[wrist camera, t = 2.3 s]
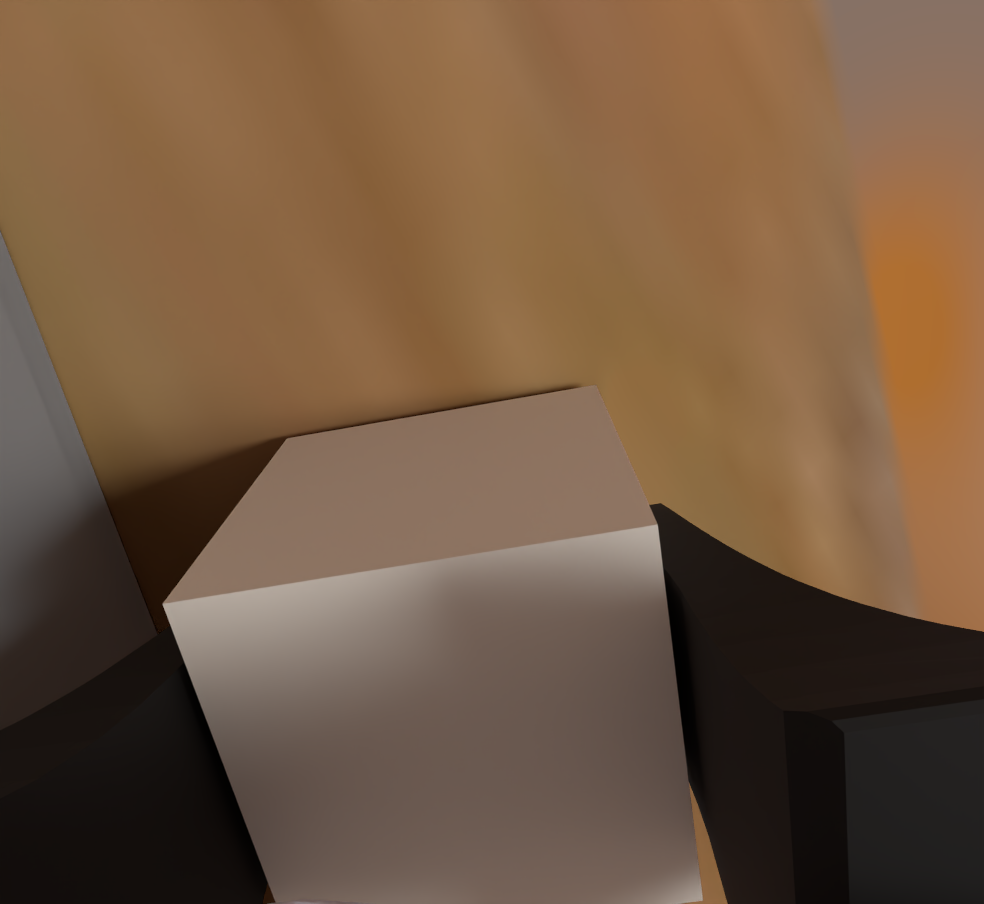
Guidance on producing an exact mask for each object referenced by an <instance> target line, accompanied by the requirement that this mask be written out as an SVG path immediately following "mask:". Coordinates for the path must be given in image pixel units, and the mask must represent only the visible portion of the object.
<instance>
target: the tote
mask: <svg viewBox="0 0 984 904" xmlns="http://www.w3.org/2000/svg"><path fill="white" fill-rule="evenodd" d="M157 635H158V634H157V632H156V629H155V627H154V624H153V621H152V619H151V616H150V614H149V611H148V609H147V606H146V604H145V601H144V598H143V596H142V593H141V591H140V588H139V586H138V583H137V580H136V578H135V575H134V573H133V570H132V568H131V565H130V562H129V560H128V557H127V555H126V552H125V550H124V547H123V545H122V542H121V539H120V537H119V534H118V532H117V529H116V527H115V524H114V521H113V519H112V516H111V514H110V511H109V509H108V506H107V503H106V501H105V498H104V496H103V493H102V491H101V488H100V486H99V483H98V480H97V478H96V475H95V473H94V470H93V468H92V465H91V462H90V460H89V457H88V455H87V452H86V450H85V447H84V444H83V442H82V439H81V437H80V434H79V432H78V429H77V426H76V424H75V421H74V419H73V416H72V414H71V411H70V409H69V406H68V403H67V401H66V398H65V396H64V393H63V391H62V388H61V385H60V383H59V380H58V378H57V375H56V373H55V370H54V367H53V365H52V362H51V360H50V357H49V355H48V352H47V350H46V347H45V344H44V342H43V339H42V337H41V334H40V332H39V329H38V326H37V324H36V321H35V319H34V316H33V314H32V311H31V308H30V306H29V303H28V301H27V298H26V296H25V293H24V291H23V288H22V285H21V283H20V280H19V278H18V275H17V273H16V270H15V267H14V265H13V262H12V260H11V257H10V255H9V252H8V249H7V247H6V244H5V242H4V239H3V237H2V234H1V232H0V730H2V729H4V728H6V727H8V726H10V725H12V724H14V723H16V722H18V721H20V720H22V719H24V718H25V717H27V716H29V715H31V714H33V713H35V712H36V711H38V710H40V709H42V708H43V707H45V706H47V705H49V704H51V703H52V702H54V701H56V700H58V699H59V698H61V697H63V696H65V695H66V694H68V693H70V692H71V691H73V690H75V689H76V688H78V687H80V686H81V685H83V684H85V683H86V682H88V681H90V680H91V679H93V678H94V677H96V676H97V675H99V674H101V673H102V672H104V671H105V670H107V669H108V668H110V667H111V666H113V665H114V664H115V663H117V662H118V661H120V660H121V659H123V658H124V657H126V656H127V655H129V654H130V653H132V652H133V651H135V650H136V649H138V648H139V647H141V646H142V645H143V644H145V643H146V642H148V641H149V640H151V639H152V638H154V637H155V636H157Z"/></svg>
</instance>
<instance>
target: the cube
mask: <svg viewBox="0 0 984 904" xmlns="http://www.w3.org/2000/svg"><path fill="white" fill-rule="evenodd" d="M163 607H164V610H165V612H166V615H167V617H168V620H169V623H170V625H171V628H172V631H173V633H174V636H175V639H176V641H177V644H178V646H179V649H180V652H181V654H182V657H183V660H184V662H185V665H186V668H187V670H188V673H189V675H190V678H191V681H192V683H193V686H194V689H195V691H196V694H197V697H198V699H199V702H200V704H201V707H202V710H203V712H204V715H205V718H206V720H207V723H208V726H209V728H210V731H211V733H212V736H213V739H214V741H215V744H216V747H217V749H218V752H219V755H220V757H221V760H222V762H223V765H224V768H225V770H226V773H227V776H228V778H229V781H230V784H231V786H232V789H233V791H234V794H235V797H236V799H237V802H238V805H239V807H240V810H241V813H242V815H243V818H244V820H245V823H246V826H247V828H248V831H249V834H250V836H251V839H252V842H253V844H254V847H255V849H256V852H257V855H258V857H259V860H260V863H261V865H262V868H263V871H264V873H265V876H266V878H267V881H268V884H269V886H270V889H271V892H272V894H273V897H274V900H275V902H276V903H277V902H284V901H292V900H299V899H311V900H326V901H342V902H357V903H373V904H679V903H687V902H695V901H703V898H702V889H701V881H700V873H699V864H698V856H697V848H696V839H695V831H694V823H693V814H692V806H691V798H690V789H689V781H688V773H687V764H686V756H685V748H684V739H683V731H682V723H681V714H680V706H679V698H678V689H677V681H676V673H675V664H674V656H673V648H672V639H671V631H670V623H669V614H668V606H667V598H666V589H665V581H664V573H663V564H662V556H661V548H660V539H659V531H658V524H657V522H656V520H655V517H654V515H653V513H652V510H651V508H650V506H649V504H648V501H647V499H646V497H645V495H644V492H643V490H642V488H641V486H640V483H639V481H638V479H637V477H636V474H635V472H634V470H633V467H632V465H631V463H630V461H629V458H628V456H627V454H626V452H625V449H624V447H623V445H622V443H621V440H620V438H619V436H618V434H617V431H616V429H615V427H614V424H613V422H612V420H611V418H610V415H609V413H608V411H607V409H606V406H605V404H604V402H603V400H602V397H601V395H600V393H599V391H598V388H597V386H596V385H592V386H586V387H580V388H575V389H569V390H563V391H557V392H552V393H546V394H540V395H534V396H529V397H523V398H517V399H511V400H505V401H500V402H494V403H488V404H482V405H477V406H471V407H465V408H459V409H454V410H448V411H442V412H436V413H431V414H425V415H419V416H413V417H407V418H402V419H396V420H390V421H384V422H379V423H373V424H367V425H361V426H356V427H350V428H344V429H338V430H333V431H327V432H321V433H315V434H309V435H304V436H298V437H292V438H287V439H286V440H285V442H284V443H283V444H282V446H281V447H280V448H279V450H278V451H277V452H276V454H275V455H274V456H273V458H272V459H271V460H270V462H269V463H268V464H267V466H266V467H265V468H264V470H263V471H262V472H261V474H260V475H259V476H258V478H257V479H256V480H255V482H254V483H253V484H252V486H251V487H250V488H249V490H248V491H247V492H246V494H245V495H244V496H243V498H242V499H241V500H240V502H239V503H238V504H237V505H236V507H235V508H234V509H233V511H232V512H231V513H230V515H229V516H228V517H227V519H226V520H225V521H224V523H223V524H222V525H221V527H220V528H219V529H218V531H217V532H216V533H215V535H214V536H213V537H212V539H211V540H210V541H209V543H208V544H207V545H206V547H205V548H204V549H203V551H202V552H201V553H200V555H199V556H198V557H197V559H196V560H195V561H194V563H193V564H192V565H191V567H190V568H189V569H188V571H187V572H186V573H185V575H184V576H183V577H182V579H181V580H180V581H179V583H178V584H177V585H176V587H175V588H174V589H173V591H172V592H171V593H170V595H169V596H168V597H167V599H166V600H165V601H164V603H163Z"/></svg>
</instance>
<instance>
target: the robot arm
mask: <svg viewBox="0 0 984 904" xmlns="http://www.w3.org/2000/svg"><path fill="white" fill-rule="evenodd" d="M649 506H650V508H651V510H652V513H653V515H654V517H655V520H656V522H657V524H658V531H659V539H660V548H661V556H662V564H663V573H664V581H665V589H666V598H667V606H668V614H669V623H670V631H671V639H672V648H673V656H674V664H675V673H676V681H677V689H678V698H679V706H680V714H681V723H682V731H683V739H684V748H685V756H686V764H687V773H688V781H689V783H690V786H691V788H692V791H693V793H694V796H695V798H696V801H697V803H698V806H699V809H700V812H701V815H702V818H703V821H704V824H705V826H706V829H707V832H708V835H709V839H710V842H711V846H712V849H713V853H714V856H715V860H716V863H717V867H718V871H719V874H720V878H721V881H722V885H723V888H724V892H725V896H726V899H727V903H728V904H984V632H982V631H976V630H970V629H965V628H960V627H954V626H949V625H943V624H938V623H934V622H929V621H925V620H921V619H916V618H912V617H907V616H903V615H900V614H896V613H893V612H889V611H885V610H882V609H878V608H875V607H871V606H867V605H864V604H860V603H857V602H854V601H851V600H848V599H845V598H842V597H839V596H836V595H833V594H830V593H828V592H825V591H823V590H820V589H817V588H815V587H812V586H810V585H807V584H804V583H802V582H799V581H797V580H794V579H792V578H790V577H788V576H785V575H783V574H781V573H779V572H777V571H774V570H772V569H770V568H768V567H766V566H764V565H762V564H760V563H758V562H756V561H754V560H752V559H750V558H748V557H747V556H745V555H743V554H741V553H739V552H738V551H736V550H734V549H732V548H730V547H729V546H727V545H725V544H723V543H722V542H720V541H719V540H717V539H715V538H714V537H712V536H710V535H709V534H707V533H706V532H704V531H702V530H701V529H699V528H698V527H696V526H695V525H693V524H692V523H690V522H688V521H687V520H685V519H684V518H682V517H681V516H679V515H678V514H676V513H675V512H673V511H672V510H670V509H669V508H667V507H666V506H664V505H663V504H661V503H660V504H653V505H649ZM267 883H268V881H267V878H266V876H265V873H264V871H263V868H262V865H261V863H260V860H259V857H258V855H257V852H256V849H255V847H254V844H253V842H252V839H251V836H250V834H249V831H248V828H247V826H246V823H245V820H244V818H243V815H242V813H241V810H240V807H239V805H238V802H237V799H236V797H235V794H234V791H233V789H232V786H231V784H230V781H229V778H228V776H227V773H226V770H225V768H224V765H223V762H222V760H221V757H220V755H219V752H218V749H217V747H216V744H215V741H214V739H213V736H212V733H211V731H210V728H209V726H208V723H207V720H206V718H205V715H204V712H203V710H202V707H201V704H200V702H199V699H198V697H197V694H196V691H195V689H194V686H193V683H192V681H191V678H190V675H189V673H188V670H187V668H186V665H185V662H184V660H183V657H182V654H181V652H180V649H179V646H178V644H177V641H176V639H175V636H174V633H173V631H172V628H171V626H169V627H168V628H166V629H165V630H164V631H162V632H161V633H160V634H158V635H157V636H155V637H154V638H152V639H151V640H149V641H148V642H146V643H145V644H143V645H142V646H141V647H139V648H138V649H136V650H135V651H133V652H132V653H130V654H129V655H127V656H126V657H124V658H123V659H121V660H120V661H118V662H117V663H115V664H114V665H113V666H111V667H110V668H108V669H107V670H105V671H104V672H102V673H101V674H99V675H97V676H96V677H94V678H93V679H91V680H90V681H88V682H86V683H85V684H83V685H81V686H80V687H78V688H76V689H75V690H73V691H71V692H70V693H68V694H66V695H65V696H63V697H61V698H59V699H58V700H56V701H54V702H52V703H51V704H49V705H47V706H45V707H43V708H42V709H40V710H38V711H36V712H35V713H33V714H31V715H29V716H27V717H25V718H24V719H22V720H20V721H18V722H16V723H14V724H12V725H10V726H8V727H6V728H4V729H2V730H0V904H262V903H263V898H264V894H265V891H266V887H267ZM269 904H373V903H357V902H342V901H326V900H311V899H299V900H292V901H284V902H277V903H269Z"/></svg>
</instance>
